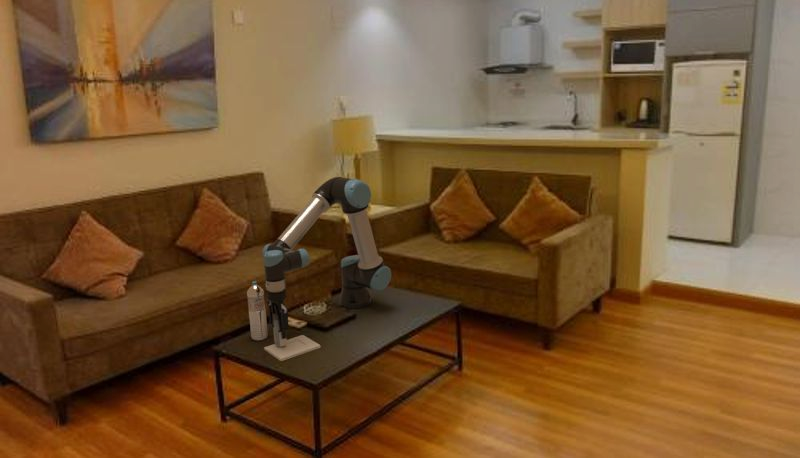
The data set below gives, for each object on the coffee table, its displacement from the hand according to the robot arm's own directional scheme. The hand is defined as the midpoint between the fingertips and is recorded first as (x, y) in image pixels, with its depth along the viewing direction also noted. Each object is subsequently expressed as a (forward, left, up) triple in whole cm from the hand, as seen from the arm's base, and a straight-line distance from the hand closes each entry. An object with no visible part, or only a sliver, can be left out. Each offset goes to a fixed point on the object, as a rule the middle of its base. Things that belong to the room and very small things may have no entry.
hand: (280, 343), depth 254 cm
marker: (0, 0, -1) cm, 1 cm away
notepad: (-3, +4, -2) cm, 5 cm away
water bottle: (+2, -15, -2) cm, 15 cm away
